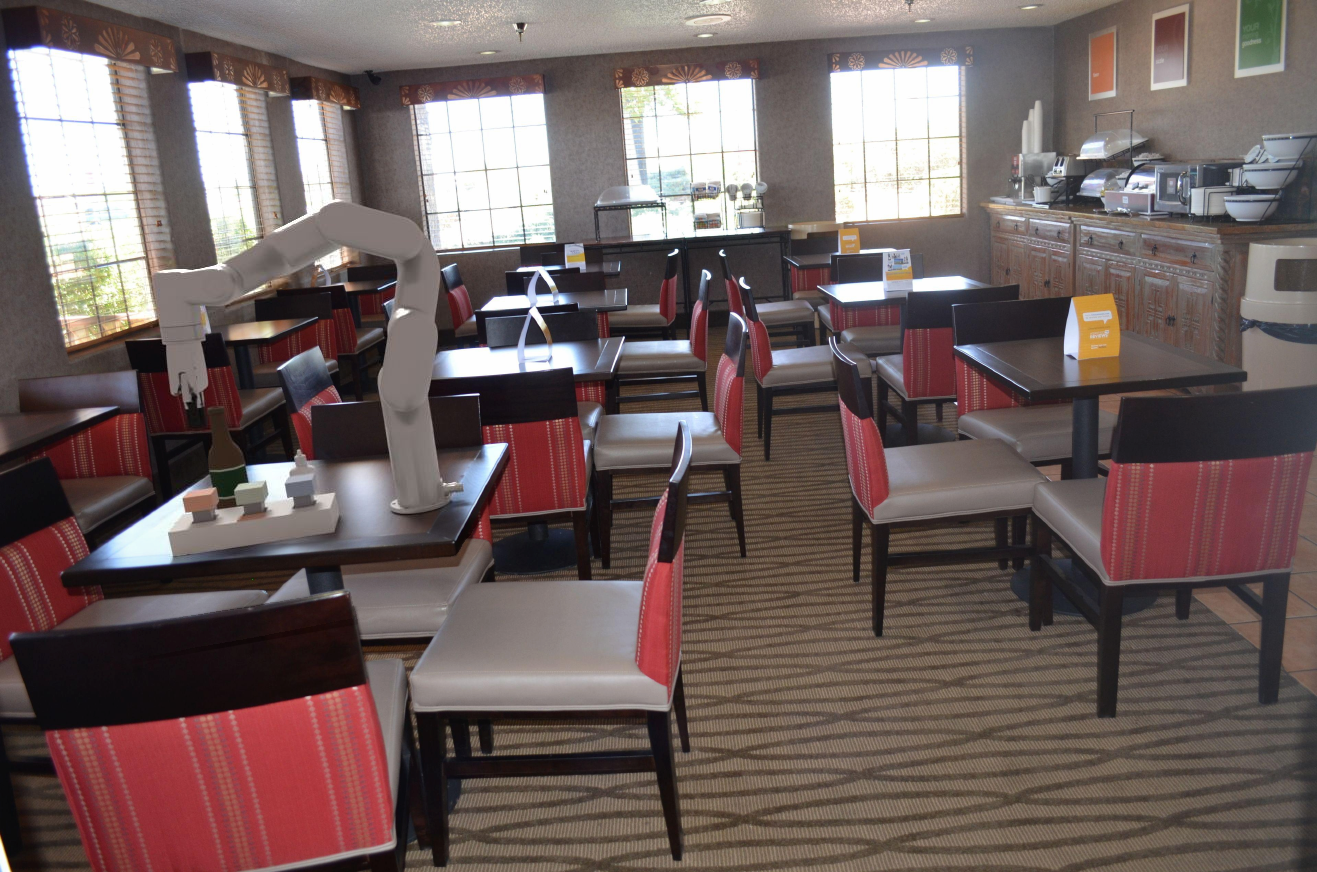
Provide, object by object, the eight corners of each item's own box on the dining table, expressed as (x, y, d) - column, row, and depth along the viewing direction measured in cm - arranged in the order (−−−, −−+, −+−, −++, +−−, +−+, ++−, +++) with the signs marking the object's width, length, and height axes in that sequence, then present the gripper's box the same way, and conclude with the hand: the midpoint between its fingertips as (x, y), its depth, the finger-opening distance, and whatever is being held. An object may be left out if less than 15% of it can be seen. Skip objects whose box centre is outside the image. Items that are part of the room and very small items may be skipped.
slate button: (321, 510, 198) (314, 473, 196) (318, 517, 193) (311, 479, 191) (295, 514, 197) (288, 477, 195) (291, 521, 192) (284, 483, 190)
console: (339, 514, 202) (335, 491, 201) (334, 532, 191) (329, 506, 189) (187, 537, 196) (182, 513, 195) (173, 556, 184) (167, 531, 183)
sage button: (273, 517, 196) (265, 480, 194) (269, 525, 191) (261, 486, 189) (246, 521, 195) (238, 484, 193) (241, 529, 190) (233, 490, 188)
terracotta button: (224, 524, 194) (216, 487, 192) (218, 532, 189) (210, 494, 187) (196, 529, 193) (188, 491, 191) (190, 536, 188) (182, 498, 186)
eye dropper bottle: (312, 504, 212) (302, 452, 209) (291, 504, 214) (281, 452, 211) (324, 498, 216) (315, 447, 213) (304, 498, 218) (294, 447, 215)
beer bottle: (260, 506, 214) (240, 402, 209) (247, 517, 207) (225, 409, 201) (226, 509, 214) (204, 405, 209) (211, 520, 207) (189, 412, 201)
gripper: (172, 332, 190) (187, 422, 194) (150, 340, 176) (167, 437, 180) (212, 329, 191) (227, 418, 195) (194, 337, 177) (210, 433, 181)
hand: (198, 427), depth 187 cm, fingers closed
